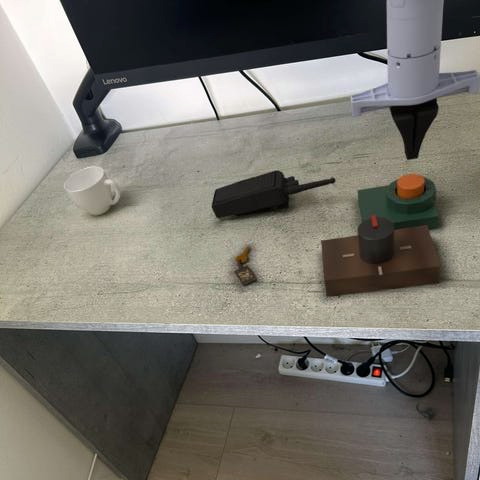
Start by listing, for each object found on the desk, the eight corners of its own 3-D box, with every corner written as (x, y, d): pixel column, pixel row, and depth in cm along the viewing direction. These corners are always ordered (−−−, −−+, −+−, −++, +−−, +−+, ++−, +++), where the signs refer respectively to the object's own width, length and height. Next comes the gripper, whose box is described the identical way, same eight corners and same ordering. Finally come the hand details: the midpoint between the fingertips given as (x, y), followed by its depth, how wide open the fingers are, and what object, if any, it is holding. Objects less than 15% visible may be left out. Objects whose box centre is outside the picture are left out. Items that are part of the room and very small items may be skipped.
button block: (427, 190, 74) (428, 167, 71) (439, 228, 68) (441, 204, 65) (358, 201, 76) (356, 179, 73) (364, 239, 70) (363, 216, 67)
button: (421, 182, 70) (422, 171, 68) (426, 197, 67) (426, 186, 66) (395, 186, 71) (395, 176, 69) (399, 201, 68) (399, 190, 67)
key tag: (257, 282, 69) (256, 279, 69) (237, 287, 70) (236, 284, 69) (249, 246, 75) (248, 243, 74) (231, 251, 75) (230, 248, 75)
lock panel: (425, 240, 67) (426, 222, 65) (439, 284, 61) (440, 266, 59) (323, 255, 70) (320, 238, 68) (326, 298, 64) (324, 281, 62)
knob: (397, 260, 62) (396, 234, 58) (361, 265, 62) (359, 240, 59) (391, 238, 64) (391, 212, 61) (357, 243, 65) (355, 217, 62)
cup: (91, 197, 97) (74, 168, 92) (135, 194, 94) (121, 163, 89) (74, 222, 92) (56, 192, 87) (120, 220, 89) (104, 188, 84)
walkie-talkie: (218, 188, 84) (334, 160, 78) (224, 224, 84) (340, 199, 78) (205, 182, 78) (329, 151, 72) (211, 220, 78) (336, 193, 72)
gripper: (473, 19, 56) (462, 129, 66) (345, 48, 59) (352, 149, 69) (490, 42, 51) (475, 157, 61) (350, 72, 54) (357, 177, 64)
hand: (411, 155), depth 65 cm, fingers closed
